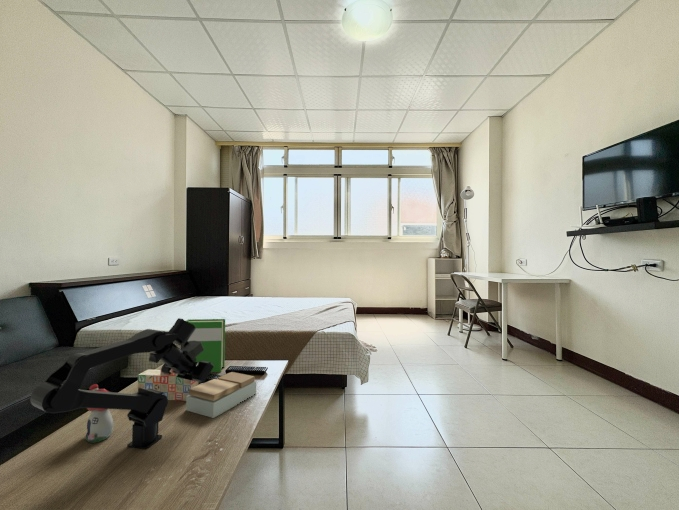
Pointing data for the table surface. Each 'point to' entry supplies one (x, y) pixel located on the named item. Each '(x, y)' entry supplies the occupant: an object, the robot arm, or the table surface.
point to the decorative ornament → (98, 422)
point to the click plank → (213, 389)
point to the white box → (226, 402)
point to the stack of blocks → (166, 384)
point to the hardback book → (210, 341)
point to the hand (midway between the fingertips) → (201, 379)
